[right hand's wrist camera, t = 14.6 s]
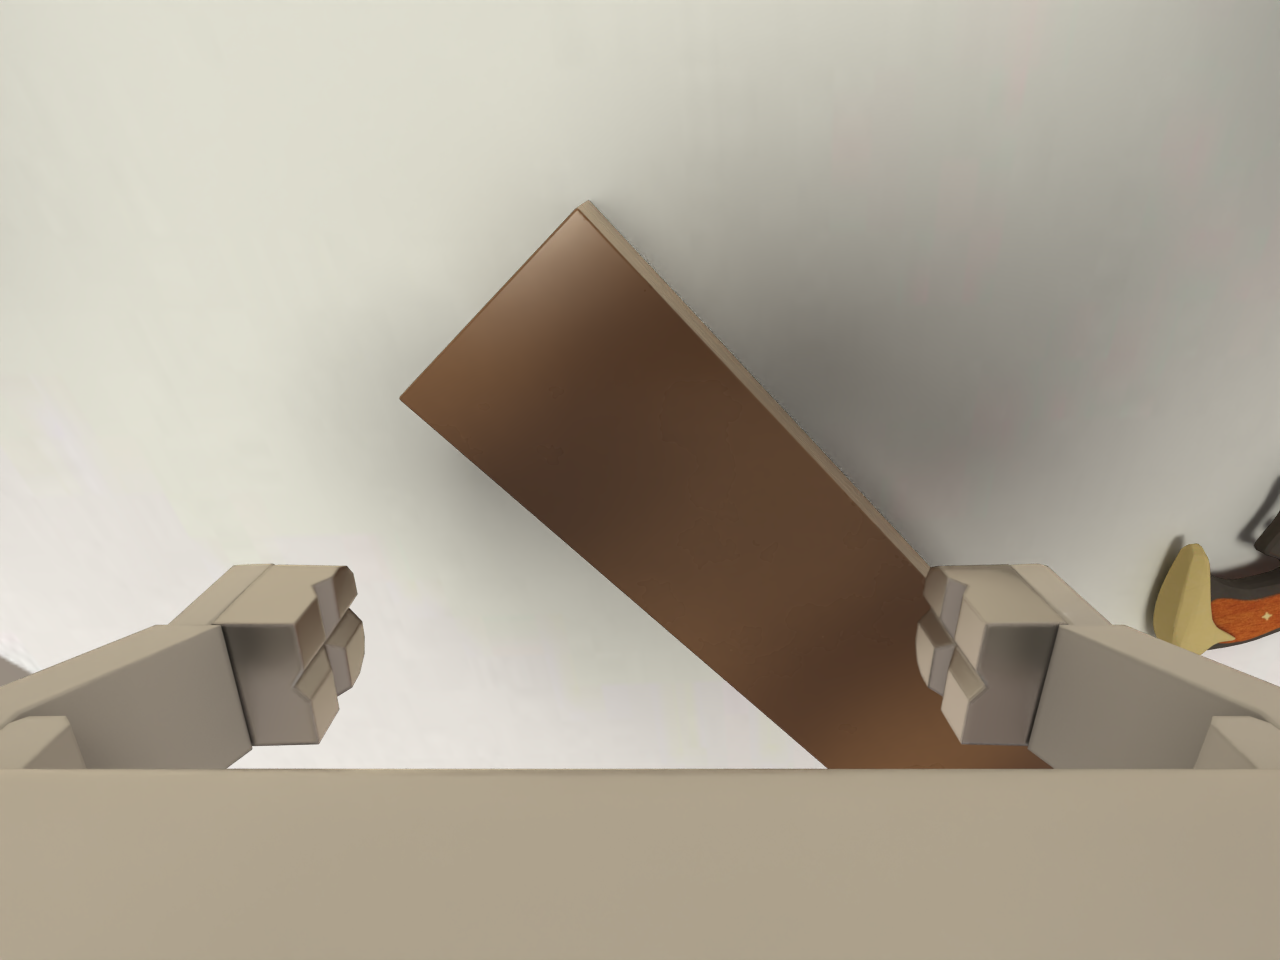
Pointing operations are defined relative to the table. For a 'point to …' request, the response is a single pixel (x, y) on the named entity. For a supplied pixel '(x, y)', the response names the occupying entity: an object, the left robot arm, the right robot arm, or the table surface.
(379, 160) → the table surface
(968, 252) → the table surface
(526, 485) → the box
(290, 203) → the table surface
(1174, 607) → the toy gun
